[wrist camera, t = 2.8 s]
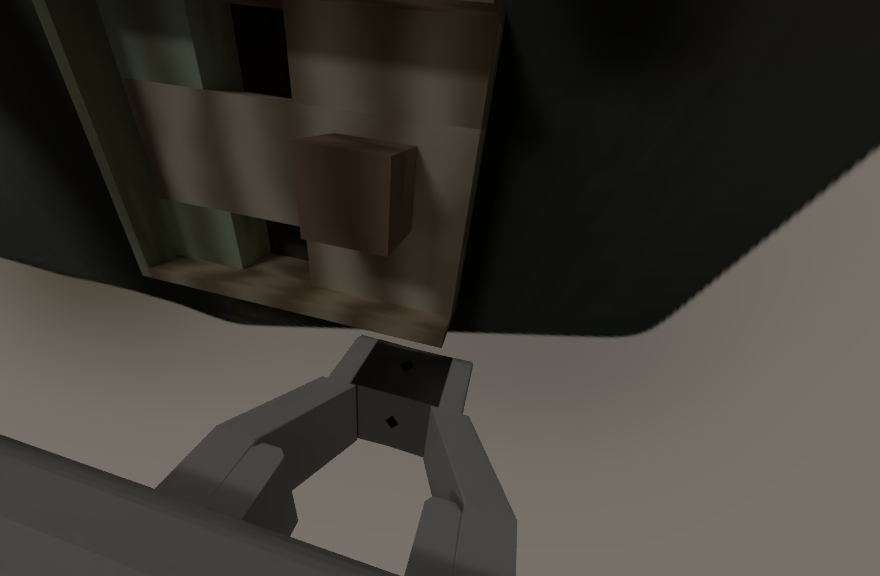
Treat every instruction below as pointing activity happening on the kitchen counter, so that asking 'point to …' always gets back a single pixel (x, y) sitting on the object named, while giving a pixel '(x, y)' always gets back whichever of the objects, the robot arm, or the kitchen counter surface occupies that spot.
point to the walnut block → (354, 191)
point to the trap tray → (284, 142)
